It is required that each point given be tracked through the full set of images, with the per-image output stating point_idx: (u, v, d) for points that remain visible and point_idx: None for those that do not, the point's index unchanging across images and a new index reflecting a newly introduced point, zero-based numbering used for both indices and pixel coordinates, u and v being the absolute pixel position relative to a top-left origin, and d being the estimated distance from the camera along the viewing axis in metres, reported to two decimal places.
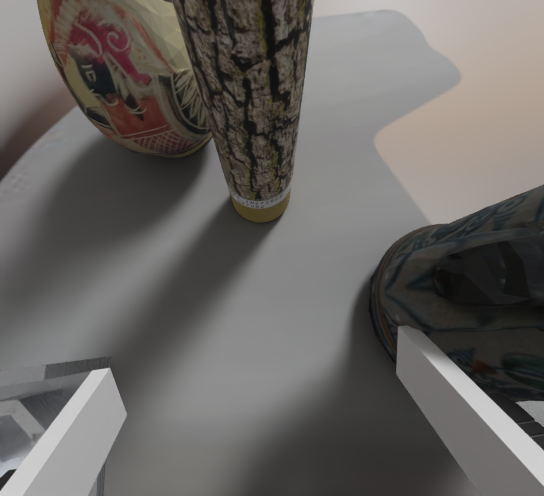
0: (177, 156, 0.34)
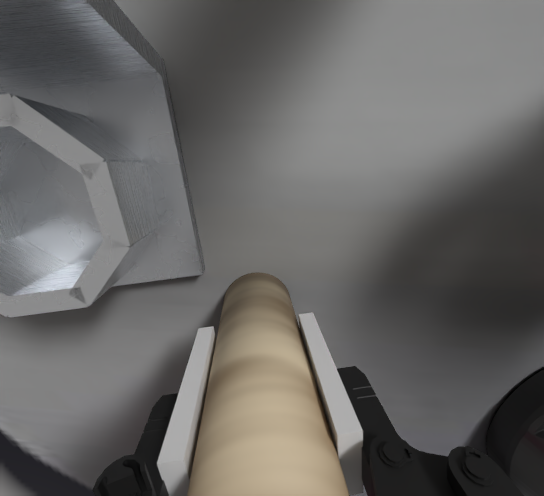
0: None
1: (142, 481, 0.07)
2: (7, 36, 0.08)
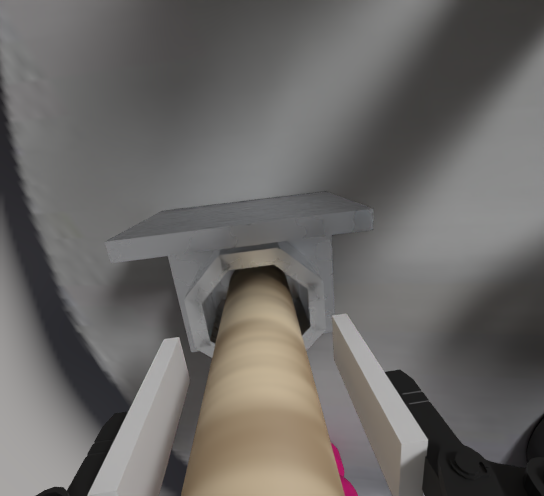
0: None
1: None
2: None
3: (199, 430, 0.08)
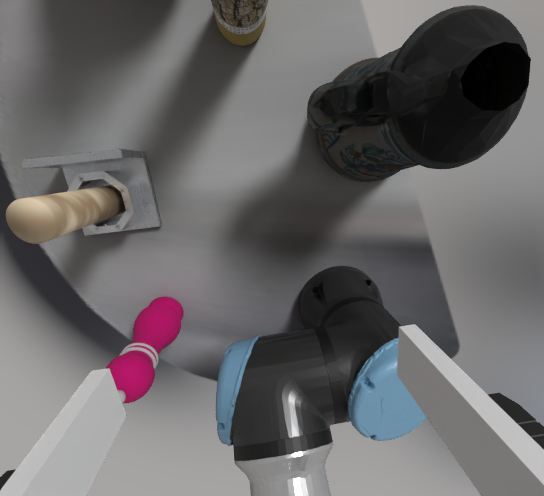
0: None
1: None
2: (105, 160, 0.35)
3: None
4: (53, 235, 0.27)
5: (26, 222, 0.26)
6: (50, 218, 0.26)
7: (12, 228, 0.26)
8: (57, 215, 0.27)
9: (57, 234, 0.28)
